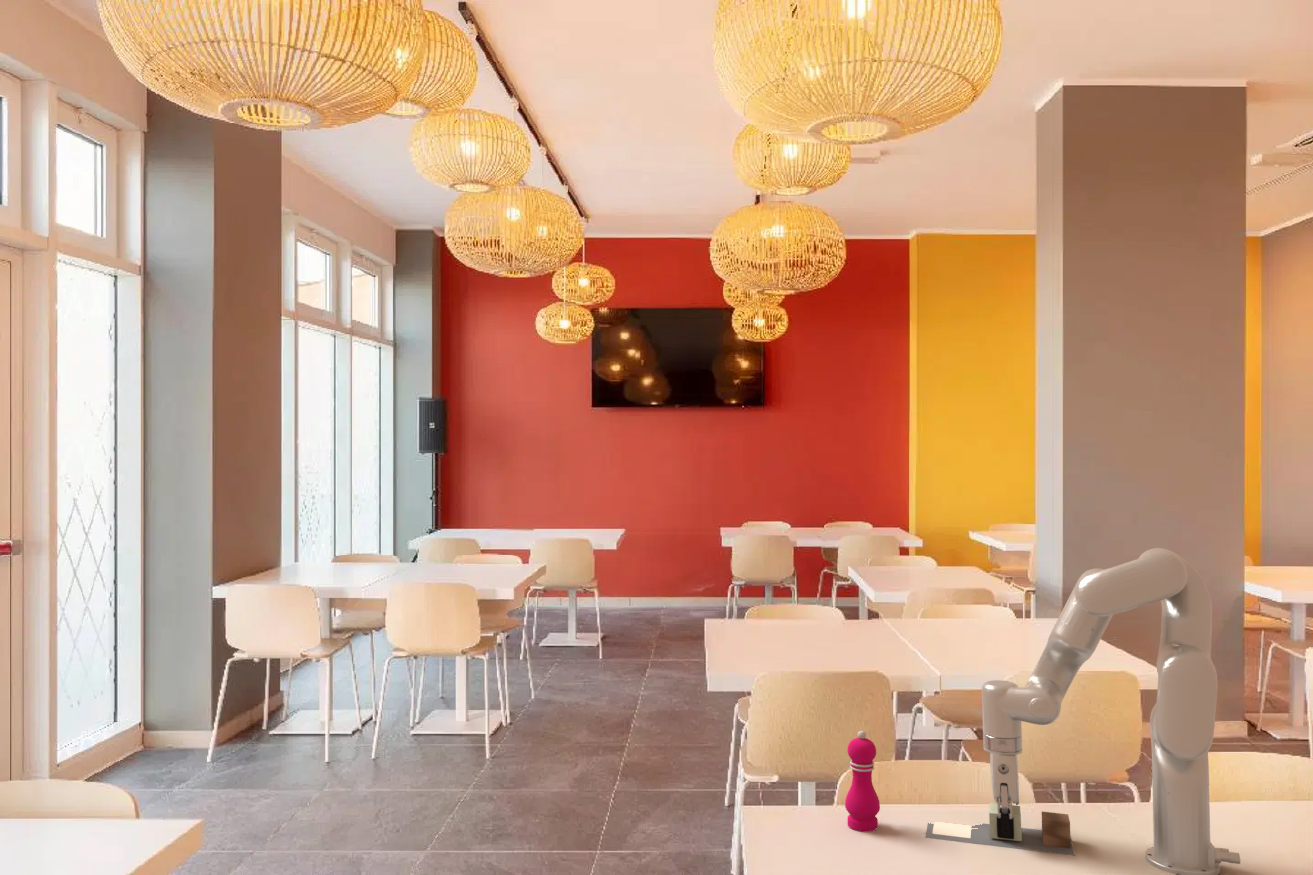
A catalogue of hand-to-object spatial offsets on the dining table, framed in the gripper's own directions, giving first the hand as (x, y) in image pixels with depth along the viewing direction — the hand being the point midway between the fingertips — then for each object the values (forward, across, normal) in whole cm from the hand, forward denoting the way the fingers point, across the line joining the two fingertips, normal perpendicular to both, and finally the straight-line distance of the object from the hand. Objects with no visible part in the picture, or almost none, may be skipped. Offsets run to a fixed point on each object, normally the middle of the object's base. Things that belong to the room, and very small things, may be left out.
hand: (1005, 831), depth 193 cm
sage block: (+1, 0, 0) cm, 1 cm away
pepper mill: (+1, -3, +28) cm, 29 cm away
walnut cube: (+1, 0, -10) cm, 10 cm away
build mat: (+1, 0, +2) cm, 2 cm away
